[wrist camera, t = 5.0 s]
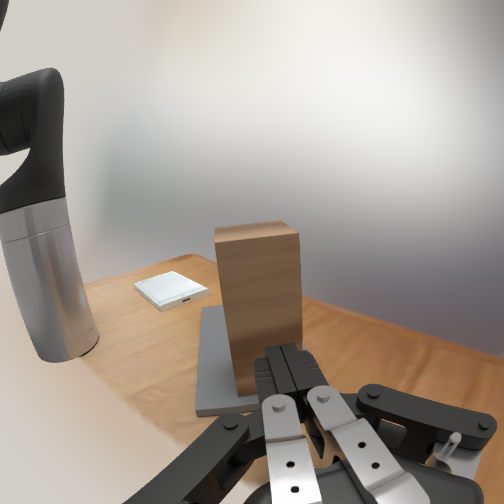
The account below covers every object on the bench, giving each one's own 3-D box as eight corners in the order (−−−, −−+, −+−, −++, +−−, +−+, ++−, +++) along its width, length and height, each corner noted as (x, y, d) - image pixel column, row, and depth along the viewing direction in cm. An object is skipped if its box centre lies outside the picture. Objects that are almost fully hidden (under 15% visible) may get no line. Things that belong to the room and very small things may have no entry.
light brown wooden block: (302, 386, 20) (298, 232, 17) (238, 396, 19) (214, 242, 16) (287, 351, 25) (280, 220, 22) (233, 359, 24) (214, 227, 21)
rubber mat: (326, 396, 19) (327, 389, 19) (197, 416, 18) (195, 410, 18) (279, 303, 37) (279, 297, 36) (203, 313, 36) (202, 307, 35)
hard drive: (133, 283, 46) (159, 305, 36) (173, 270, 51) (209, 286, 41) (135, 292, 46) (162, 315, 37) (175, 278, 51) (211, 296, 42)
